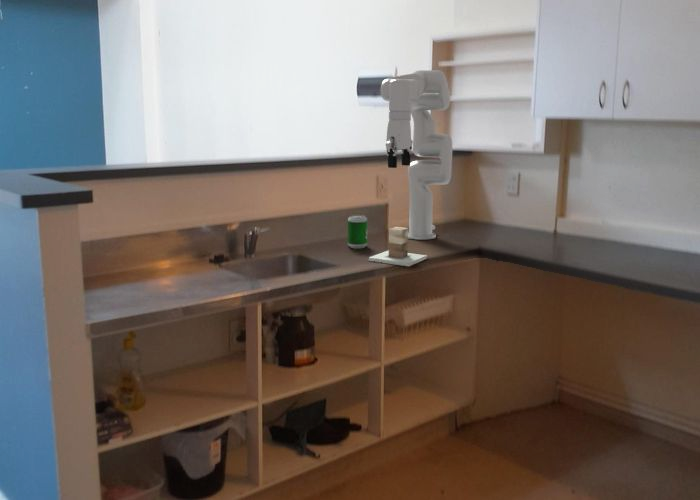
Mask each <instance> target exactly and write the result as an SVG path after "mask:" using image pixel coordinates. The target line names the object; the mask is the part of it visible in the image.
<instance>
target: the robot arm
mask: <svg viewBox="0 0 700 500" xmlns="http://www.w3.org/2000/svg"><path fill="white" fill-rule="evenodd" d="M380 95H381V96H380V97H381V98H382V99H383V100H384V101H385V102H388V123H387V129H386V139H385V141H386V143H385V148H386V150H385V151H386V153H387V154H386V155H387V168H390V169H396V168H398V157H397V156H398V155H397V153H398V151H402V153H401V166H407V177H408V185H409V212H408V213H409V217H408V218H409V219H408V221H409V223H408V240H421V241H423V240H425V241H426V240H434V239H436V238H437V237H436V233H434V232H433V230H435V229H436V225H434V224H433V219H434V218H433V213H434V210H433V207H434V205H433V204H434V194H433V192H432V189H430V187H429V186H428V185H437V186H438V185H441V186H443V185H444V186H445V185H447V184H449V183H450V182H451V180H452V179H451V178H452V170H453V169H452V166H453V140H452V138H451V135H450V134H446V133H435V128H436V126H435V125H436V122H435V121H436V120H435V118H434V117H433V116H432V114H431V113H430V112H429V111H445V110H447V109H448V108H449V107H450V104H451V94H450V88H449V83H448V79H447V77H446V74H445V73H444V72H443V71H442V70H440V69H439V70H437V69H436V70H432V69H431V70H429V69H428V70H425V69H424V70H423V69H422V70H421V69H420V70H415V71H412V72H411V73H407V74H403V75H397V76H391V77H388V78H386V79H384V80H383V81H382V83H381V84H380ZM411 121H412V122H413V132H412V129H411V128H412V127H411V126H412V125H411ZM412 133H413V136H412ZM412 151H413V155H414V156H416V157H419V158H438V159H440V160H428V159H427V160H426V159H425V160H423V159H421V160H414V161H411V154H412Z"/></svg>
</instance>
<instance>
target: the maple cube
mask: <svg viewBox="0 0 700 500" xmlns="http://www.w3.org/2000/svg"><path fill="white" fill-rule="evenodd" d="M408 233H409V227H401V226H395V227H391V228H388V244H389V243H394V244H403V243H406V242H408V243H409V238H408Z"/></svg>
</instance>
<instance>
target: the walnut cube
mask: <svg viewBox="0 0 700 500" xmlns="http://www.w3.org/2000/svg"><path fill="white" fill-rule="evenodd" d="M408 245H409V241H408V242H406V243H403V244H394V243H389V242H388V250H389V257H396V258H403V257H405V256H408V253H409V252H408V247H409V246H408Z"/></svg>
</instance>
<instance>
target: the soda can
mask: <svg viewBox="0 0 700 500" xmlns="http://www.w3.org/2000/svg"><path fill="white" fill-rule="evenodd" d="M347 246H349V247H350V248H352V249H364V248H365V247H366V246H368V218H367V217H366V216H365V215H363V214H362V215H361V214H355V215H354V214H353V215H350V216H349V217H348V219H347Z"/></svg>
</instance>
